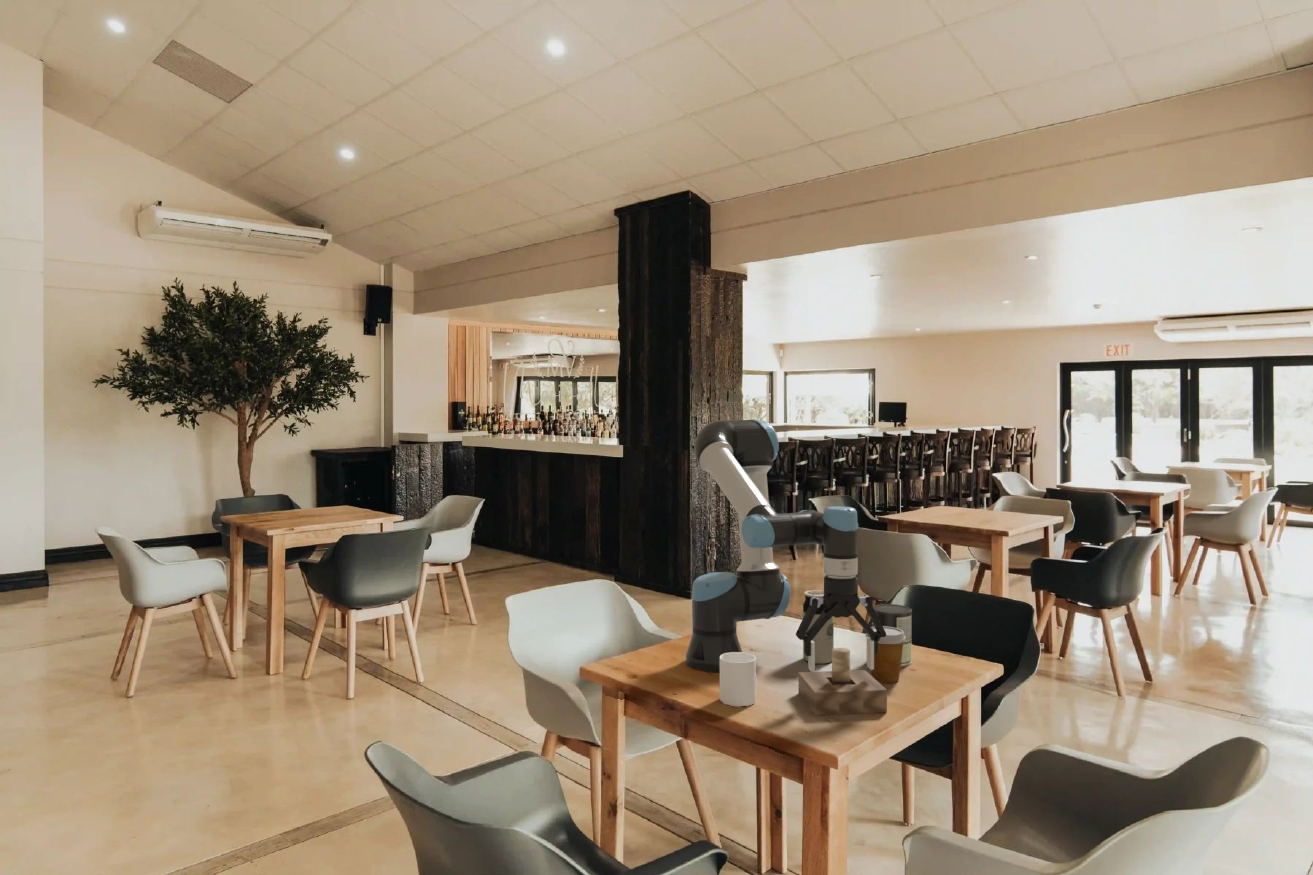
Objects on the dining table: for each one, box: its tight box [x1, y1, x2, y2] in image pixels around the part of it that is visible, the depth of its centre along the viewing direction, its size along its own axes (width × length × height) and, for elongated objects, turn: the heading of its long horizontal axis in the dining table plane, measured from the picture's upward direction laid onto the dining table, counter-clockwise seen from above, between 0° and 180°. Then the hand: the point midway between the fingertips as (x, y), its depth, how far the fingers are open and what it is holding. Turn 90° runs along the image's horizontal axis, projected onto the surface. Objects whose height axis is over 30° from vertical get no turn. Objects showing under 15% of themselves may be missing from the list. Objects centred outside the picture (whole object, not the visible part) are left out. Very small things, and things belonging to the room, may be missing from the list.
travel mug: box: [802, 589, 835, 665], centre depth 213 cm, size 8×8×18 cm
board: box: [797, 669, 888, 716], centre depth 180 cm, size 16×14×5 cm
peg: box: [831, 647, 851, 685], centre depth 180 cm, size 4×4×12 cm
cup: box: [719, 651, 757, 707], centre depth 184 cm, size 8×12×10 cm
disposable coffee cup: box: [865, 626, 906, 684], centre depth 197 cm, size 10×10×12 cm
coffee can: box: [871, 603, 913, 668], centre depth 211 cm, size 10×10×14 cm
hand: (841, 668), depth 180 cm, fingers open, 13 cm apart
